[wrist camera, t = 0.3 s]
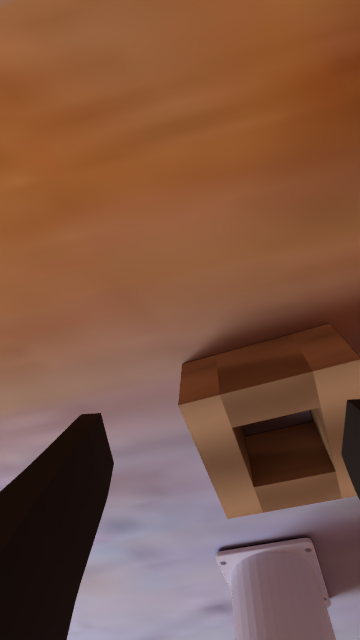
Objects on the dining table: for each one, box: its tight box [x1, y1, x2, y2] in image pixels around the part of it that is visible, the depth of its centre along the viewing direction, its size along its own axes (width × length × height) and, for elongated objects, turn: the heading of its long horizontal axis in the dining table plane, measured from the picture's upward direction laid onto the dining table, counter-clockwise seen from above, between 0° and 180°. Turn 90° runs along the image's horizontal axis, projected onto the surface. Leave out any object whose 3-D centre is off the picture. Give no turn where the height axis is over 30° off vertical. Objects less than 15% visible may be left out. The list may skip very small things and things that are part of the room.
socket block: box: [178, 324, 360, 519], centre depth 19 cm, size 9×9×4 cm
